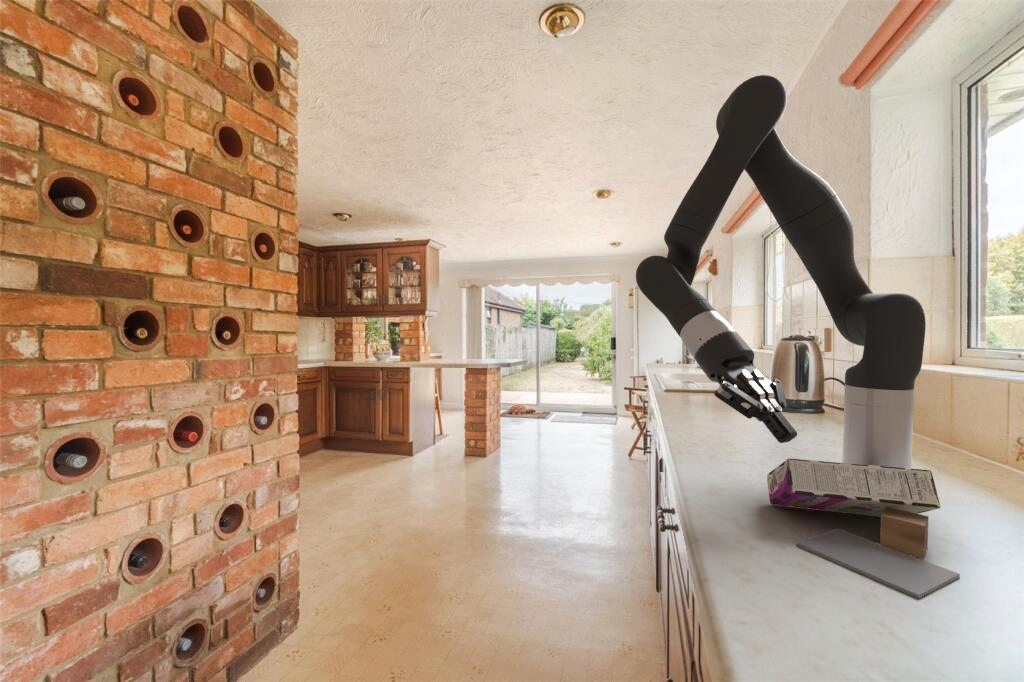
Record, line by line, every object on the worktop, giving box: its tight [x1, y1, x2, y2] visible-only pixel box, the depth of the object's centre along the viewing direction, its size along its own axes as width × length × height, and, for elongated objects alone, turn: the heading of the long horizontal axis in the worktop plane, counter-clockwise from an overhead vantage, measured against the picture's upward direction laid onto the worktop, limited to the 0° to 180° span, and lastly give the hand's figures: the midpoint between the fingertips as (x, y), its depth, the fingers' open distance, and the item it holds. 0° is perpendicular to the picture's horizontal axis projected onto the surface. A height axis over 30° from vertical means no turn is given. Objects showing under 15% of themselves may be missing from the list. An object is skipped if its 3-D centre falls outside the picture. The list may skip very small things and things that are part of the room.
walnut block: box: [879, 507, 929, 560], centre depth 55 cm, size 4×4×4 cm
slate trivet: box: [795, 528, 960, 599], centre depth 52 cm, size 9×12×1 cm
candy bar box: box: [766, 458, 941, 517], centre depth 62 cm, size 11×5×16 cm
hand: (789, 439), depth 60 cm, fingers closed
